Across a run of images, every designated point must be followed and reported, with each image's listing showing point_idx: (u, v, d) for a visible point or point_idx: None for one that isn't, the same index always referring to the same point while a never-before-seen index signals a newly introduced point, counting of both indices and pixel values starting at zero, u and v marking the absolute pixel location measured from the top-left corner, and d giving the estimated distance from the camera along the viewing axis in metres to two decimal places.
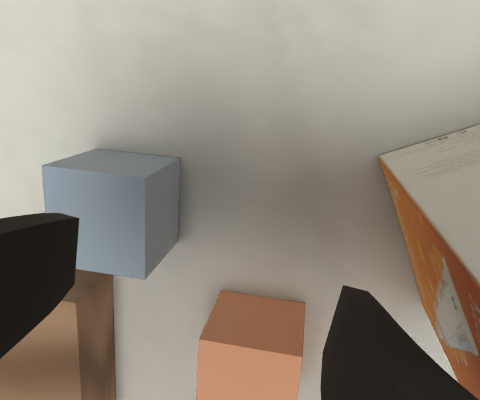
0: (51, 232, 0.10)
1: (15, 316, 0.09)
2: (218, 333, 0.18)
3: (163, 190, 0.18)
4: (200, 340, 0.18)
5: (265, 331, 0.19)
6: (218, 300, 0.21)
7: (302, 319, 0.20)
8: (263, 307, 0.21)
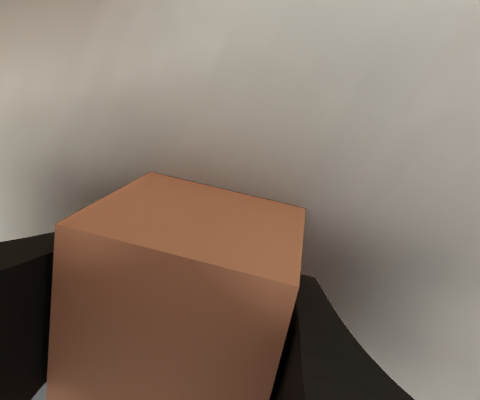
0: None
1: None
2: None
3: None
4: None
5: None
6: None
7: None
8: None
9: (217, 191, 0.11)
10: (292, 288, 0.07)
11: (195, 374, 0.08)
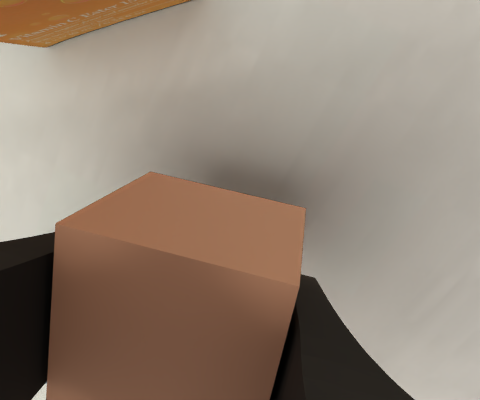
0: None
1: None
2: None
3: None
4: None
5: None
6: None
7: None
8: None
9: (217, 191, 0.11)
10: (292, 288, 0.07)
11: (195, 374, 0.08)
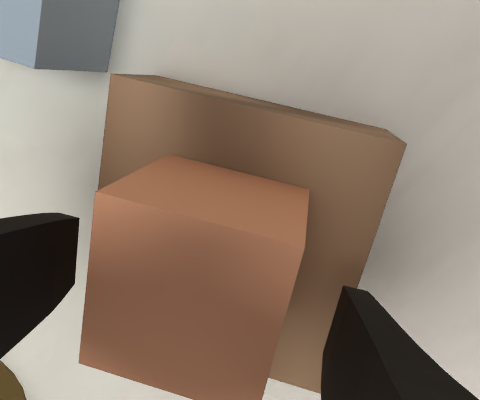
0: (52, 232, 0.10)
1: (15, 317, 0.09)
2: None
3: None
4: (79, 361, 0.10)
5: None
6: None
7: None
8: None
9: (230, 172, 0.12)
10: (299, 248, 0.08)
11: (213, 325, 0.09)
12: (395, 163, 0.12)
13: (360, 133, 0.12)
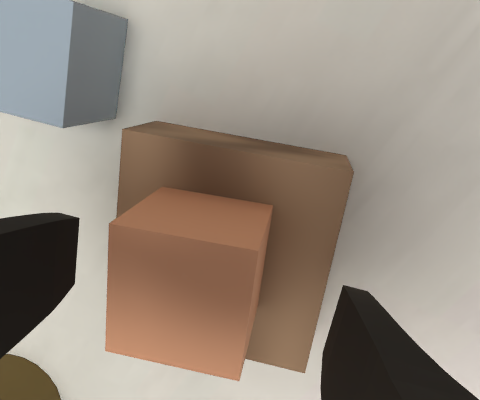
0: (52, 232, 0.10)
1: (15, 317, 0.09)
2: None
3: None
4: (106, 349, 0.13)
5: None
6: None
7: (145, 200, 0.15)
8: None
9: (210, 197, 0.16)
10: (254, 252, 0.12)
11: (200, 312, 0.12)
12: (346, 187, 0.15)
13: (318, 165, 0.15)
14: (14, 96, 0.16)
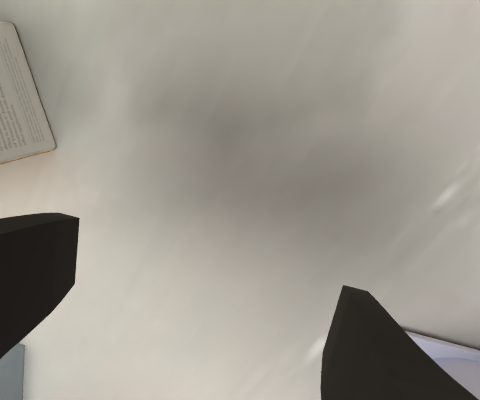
0: (52, 232, 0.10)
1: (15, 317, 0.09)
2: None
3: None
4: None
5: None
6: None
7: None
8: None
9: None
10: None
11: None
12: None
13: None
14: None
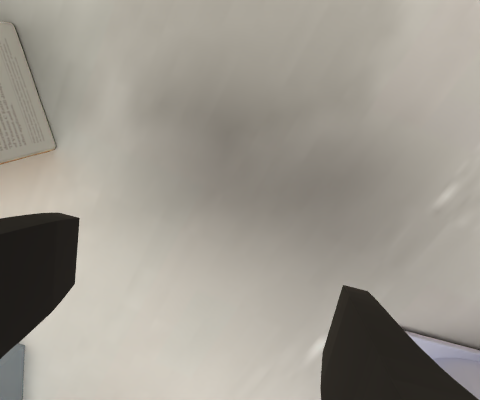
0: (52, 232, 0.10)
1: (15, 317, 0.09)
2: None
3: None
4: None
5: None
6: None
7: None
8: None
9: None
10: None
11: None
12: None
13: None
14: None
